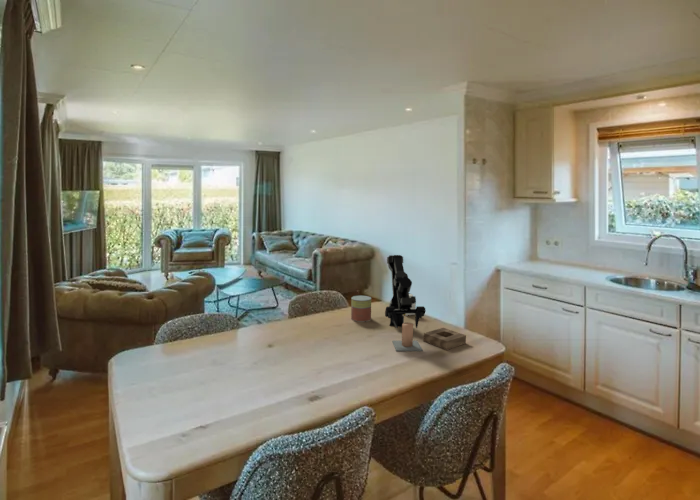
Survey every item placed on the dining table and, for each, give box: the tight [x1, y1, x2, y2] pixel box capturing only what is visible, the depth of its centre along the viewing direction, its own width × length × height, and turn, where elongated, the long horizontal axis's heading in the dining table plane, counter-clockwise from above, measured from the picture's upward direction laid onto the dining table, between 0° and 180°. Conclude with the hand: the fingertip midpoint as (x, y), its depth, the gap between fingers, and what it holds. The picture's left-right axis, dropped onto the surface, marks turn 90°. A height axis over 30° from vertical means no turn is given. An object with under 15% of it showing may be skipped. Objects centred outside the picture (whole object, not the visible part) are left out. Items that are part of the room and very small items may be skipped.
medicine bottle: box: [403, 292, 417, 317], centre depth 247 cm, size 7×7×12 cm
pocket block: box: [423, 327, 467, 351], centre depth 202 cm, size 14×14×4 cm
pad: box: [391, 339, 424, 352], centre depth 196 cm, size 12×12×1 cm
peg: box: [401, 322, 414, 347], centre depth 195 cm, size 5×5×10 cm
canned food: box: [350, 295, 372, 323], centre depth 237 cm, size 11×11×12 cm
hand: (406, 327), depth 197 cm, fingers open, 9 cm apart
